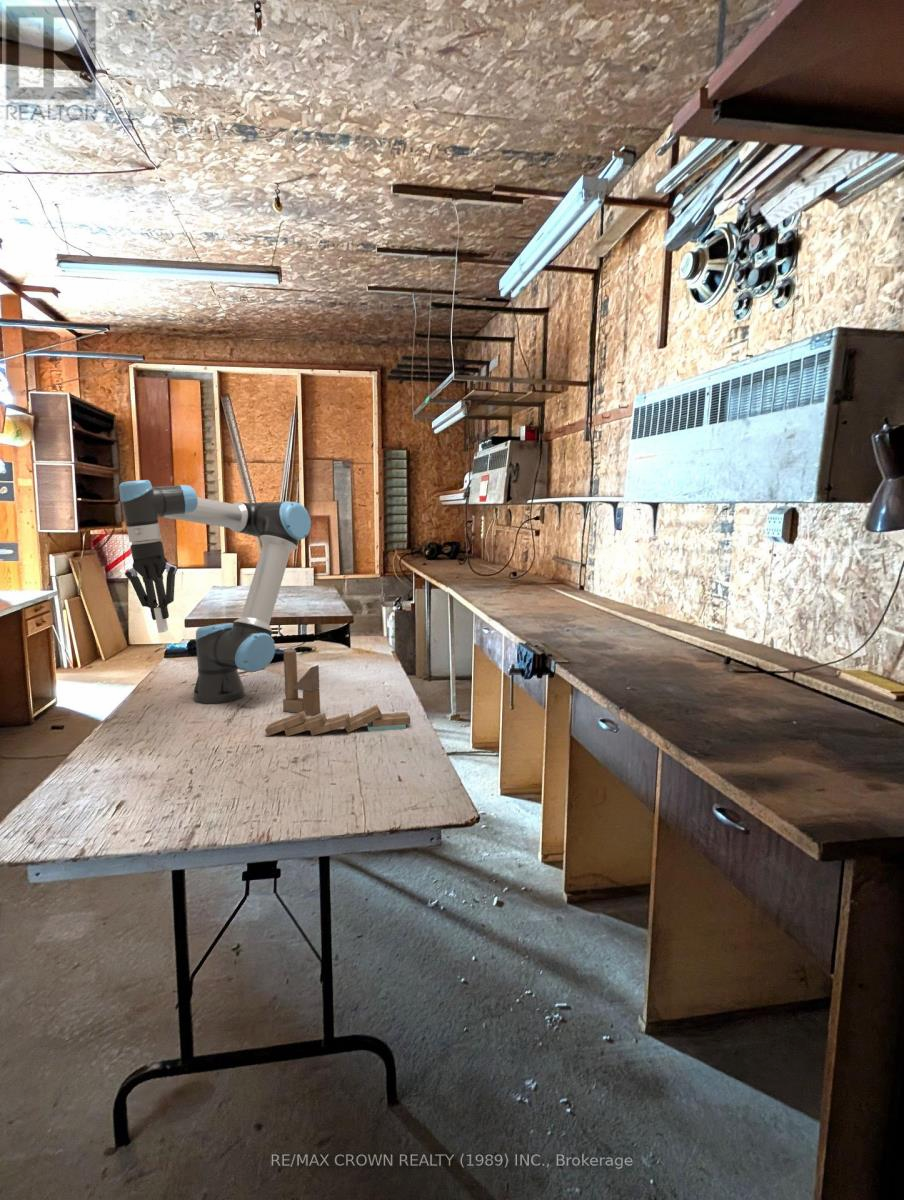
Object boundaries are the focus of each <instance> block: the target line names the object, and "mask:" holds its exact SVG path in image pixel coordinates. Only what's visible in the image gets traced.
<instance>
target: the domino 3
mask: <svg viewBox="0 0 904 1200" xmlns="http://www.w3.org/2000/svg"><path fill="white" fill-rule="evenodd" d="M350 718H351V716H350V713H345V714H341V715H338V716H334V717H330V718H326V719H327V720H326V722H325V723H324V725H323V726H320V727H317V728H313V729H310V730H309V731H310V734H311V736H315V735H319V734H324V733H326V732H331V731H334V730H338V729H341V728H345V726H349V724H350V720H351V719H350Z"/></svg>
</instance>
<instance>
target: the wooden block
mask: <svg viewBox="0 0 904 1200" xmlns="http://www.w3.org/2000/svg"><path fill="white" fill-rule="evenodd" d="M297 658H298V657H297V650H296V649H285V650H284V651H283V670H284V673H283V674H284V689H285V690H284V691H285V692H284V694H285V698H284V699H283V700H282V709H283V712H288V713H294V714H297V713H300V712H302V711H305V714H306V716H307V715H308V716H311V717H313V716H317V715H319V713H321V697H320V696H321V695H320V671H319V668H320V667H319V664H317V665H314V666H312V667H310V668H309V669H308V670H307V672H306V673H304V675H302V677H301V678H300V679H299V681H298V663H297V662H298V661H297ZM299 691H302V697H299Z"/></svg>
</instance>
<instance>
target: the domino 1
mask: <svg viewBox="0 0 904 1200" xmlns="http://www.w3.org/2000/svg"><path fill="white" fill-rule="evenodd" d="M307 718H308V717H307V715H306V714H305V711H302V712H300V713H294V714H292V715H289V716H287V717H283V718H282V719H279V720H276V721H274V722H271V723H269V724H268V725H267V726H266V728H265V729H264V732H265V734H266V736H267V737H269V736H272V735H275V734H277V733H280V732H283V731H285V729H288V728H291V727H293V726H296V725H299V724H301V723H304V721H305V719H307Z"/></svg>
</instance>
